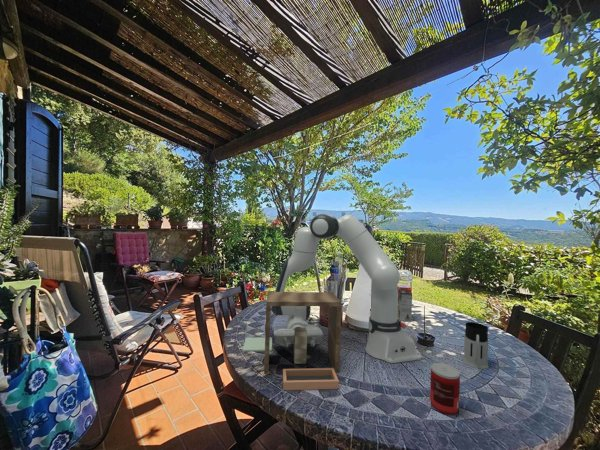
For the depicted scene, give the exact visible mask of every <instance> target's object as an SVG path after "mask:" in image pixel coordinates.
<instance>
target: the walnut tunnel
mask: <svg viewBox="0 0 600 450" xmlns="http://www.w3.org/2000/svg"><path fill="white" fill-rule="evenodd" d="M265 302H266V304H265V305H266V307H265V308H266V309H265V331H264V332H265V335H264V338H265V351H264V365H263V366H264V367H263V369H264V370H263V375H269V370H270V368H269V367H270V351H269V345H270V338H271V315H272V314H271V313H272V311H271V306H311V307H328V328H327V330H328V331H327V333H328V334H327V356H328V357H327V358H328V359H329V360H330V364H331V366H332V368H334V370H335V373H336V374H338V373H340V360H341V359H340V358H341V353H340V352H341V329H342V327H341V325H342V301H341V299H339V297H338V296H337V295H336V294H335V293H334V292H332V291H331V292H325V291H324V292H320V291H318V292H317V291H312V292H311V291H307V292H306V291H284V292H275V291H267V293H266V301H265Z"/></svg>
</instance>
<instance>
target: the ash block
mask: <svg viewBox="0 0 600 450" xmlns="http://www.w3.org/2000/svg"><path fill="white" fill-rule="evenodd" d="M307 347H308V344H307V330H306V328H295V332H294V344H293V362H294V364H295V365H297V364H300V365H301V364H302V365H303V364H304V365H305V364H307V354H308V353H307V351H308V349H307Z"/></svg>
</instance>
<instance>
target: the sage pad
mask: <svg viewBox="0 0 600 450" xmlns="http://www.w3.org/2000/svg"><path fill="white" fill-rule="evenodd" d="M272 351H273V338H272V337H270V345H269V352H272ZM242 352H265V337H245V339H244V343H243V346H242Z"/></svg>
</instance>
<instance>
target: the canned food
mask: <svg viewBox="0 0 600 450" xmlns="http://www.w3.org/2000/svg"><path fill="white" fill-rule="evenodd" d="M430 365H431V366H430V384H429V385H430V386H429V389H430V390H429V392H430V393H429V401H430V403H431V405H432V407H433V408H434V409H435V410H437V411H438V412H441V413H442V414H445V415H455V414H457V413H458V412H459V410H460V409H459V408H460V391H461V390H460V386H461V382H460V381H461V373H460V371H459V370H458V369H457V368H456V367H453V366H452V365H449V364H447V363H442V362H434V363H432V364H430Z"/></svg>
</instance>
